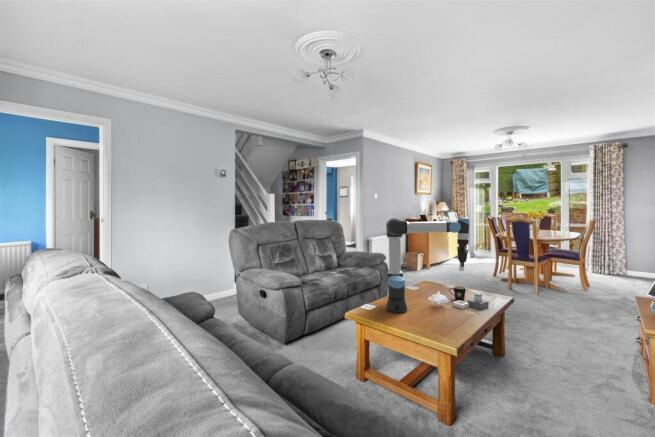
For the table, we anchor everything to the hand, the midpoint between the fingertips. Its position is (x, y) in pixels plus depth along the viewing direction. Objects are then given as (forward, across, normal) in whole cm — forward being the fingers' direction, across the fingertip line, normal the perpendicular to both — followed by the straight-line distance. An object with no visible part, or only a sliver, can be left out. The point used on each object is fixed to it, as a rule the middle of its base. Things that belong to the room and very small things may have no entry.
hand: (461, 270), depth 229 cm
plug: (+26, -4, -12) cm, 29 cm away
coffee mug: (+27, +15, -6) cm, 31 cm away
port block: (+26, -4, -12) cm, 29 cm away
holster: (+26, -2, 0) cm, 27 cm away
